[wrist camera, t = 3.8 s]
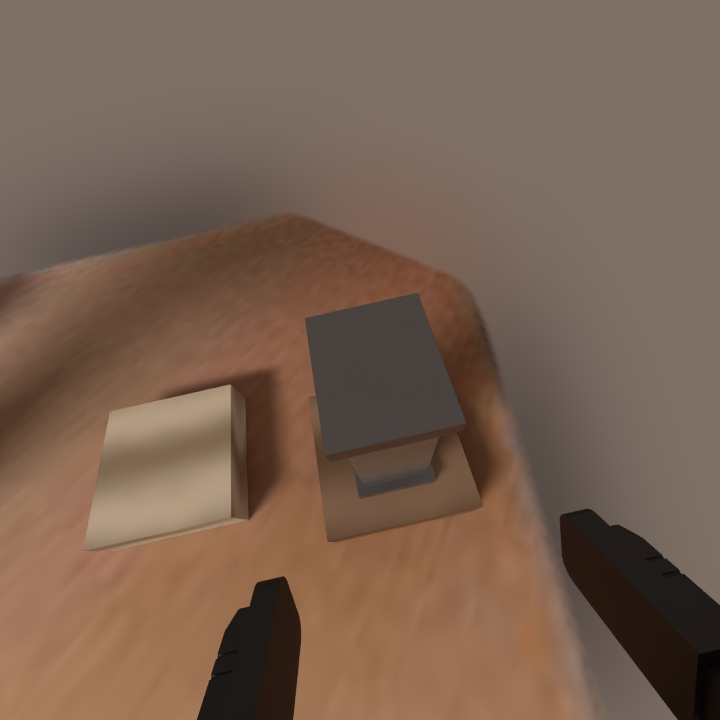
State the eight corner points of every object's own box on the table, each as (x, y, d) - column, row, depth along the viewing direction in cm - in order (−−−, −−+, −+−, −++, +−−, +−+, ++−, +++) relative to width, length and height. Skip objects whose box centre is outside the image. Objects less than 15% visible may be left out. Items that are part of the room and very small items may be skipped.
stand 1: (248, 520, 25) (230, 517, 22) (116, 550, 25) (83, 551, 22) (245, 398, 30) (230, 384, 27) (135, 423, 30) (110, 411, 27)
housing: (434, 482, 22) (466, 423, 11) (360, 498, 22) (324, 455, 11) (410, 399, 25) (417, 293, 14) (344, 414, 25) (304, 318, 14)
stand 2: (474, 510, 23) (483, 505, 21) (335, 542, 23) (327, 541, 21) (431, 385, 28) (434, 369, 26) (317, 411, 28) (308, 397, 26)
